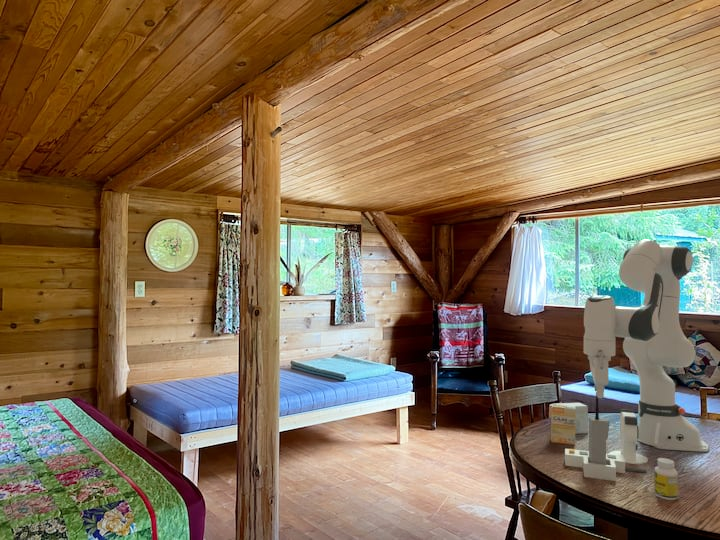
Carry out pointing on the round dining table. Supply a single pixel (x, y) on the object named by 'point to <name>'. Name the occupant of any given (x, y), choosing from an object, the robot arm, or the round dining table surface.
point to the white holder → (629, 438)
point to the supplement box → (563, 424)
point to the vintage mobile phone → (598, 437)
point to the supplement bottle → (666, 479)
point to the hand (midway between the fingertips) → (598, 394)
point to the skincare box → (579, 417)
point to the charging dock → (598, 465)
